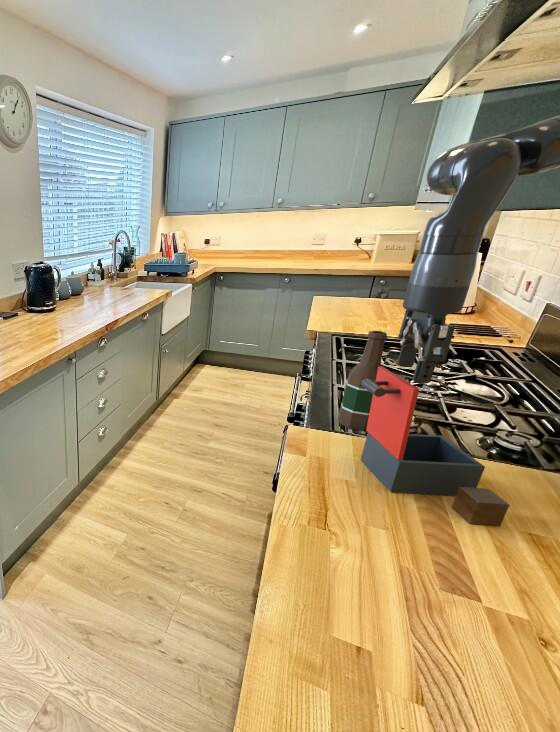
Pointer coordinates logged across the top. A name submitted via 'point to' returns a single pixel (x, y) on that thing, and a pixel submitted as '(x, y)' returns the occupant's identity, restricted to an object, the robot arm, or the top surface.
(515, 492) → the top surface
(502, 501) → the block
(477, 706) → the top surface
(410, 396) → the lid
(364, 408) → the beer bottle
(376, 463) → the food box
